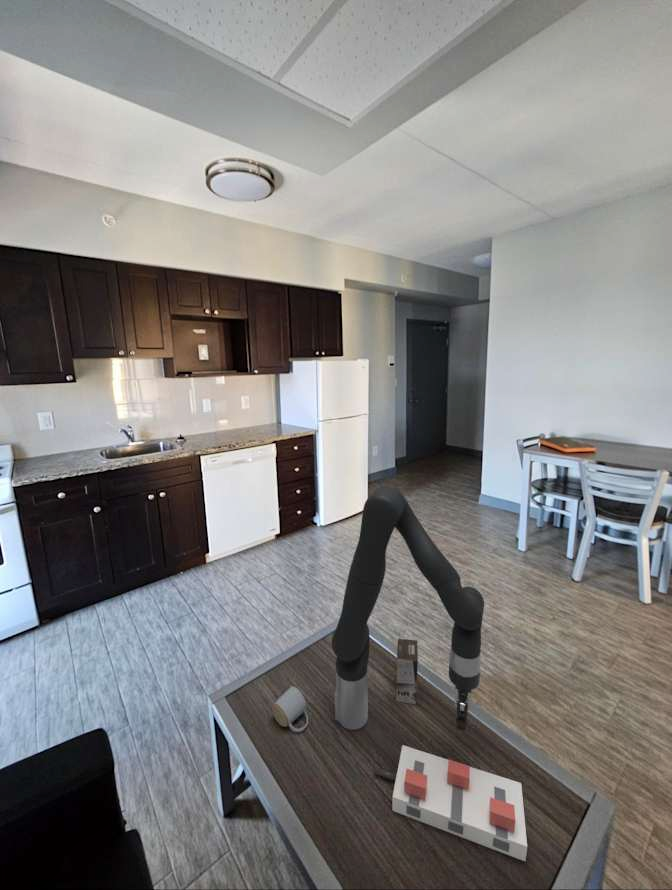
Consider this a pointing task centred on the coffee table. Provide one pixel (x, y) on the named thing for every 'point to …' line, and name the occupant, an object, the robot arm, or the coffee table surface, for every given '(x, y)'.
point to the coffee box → (407, 671)
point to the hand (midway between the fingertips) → (461, 714)
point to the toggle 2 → (458, 774)
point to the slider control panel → (460, 802)
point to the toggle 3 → (502, 814)
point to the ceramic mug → (290, 708)
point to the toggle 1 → (415, 784)
